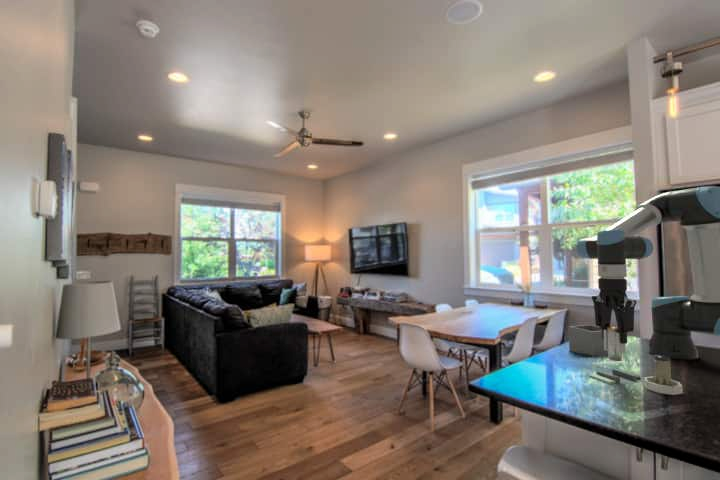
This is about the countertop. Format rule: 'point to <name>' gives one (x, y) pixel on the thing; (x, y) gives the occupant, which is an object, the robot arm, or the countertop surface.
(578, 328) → the phone caddy
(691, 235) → the robot arm
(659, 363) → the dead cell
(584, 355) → the smartphone
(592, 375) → the cradle
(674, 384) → the white octagonal bowl
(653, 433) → the countertop surface
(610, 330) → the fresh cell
